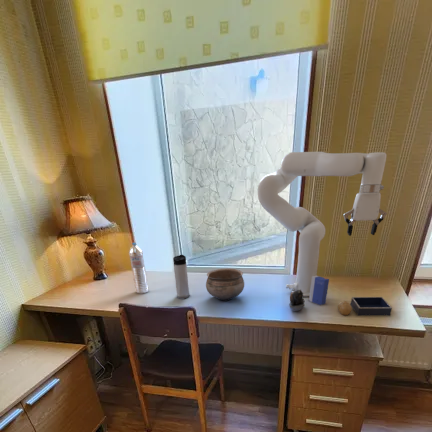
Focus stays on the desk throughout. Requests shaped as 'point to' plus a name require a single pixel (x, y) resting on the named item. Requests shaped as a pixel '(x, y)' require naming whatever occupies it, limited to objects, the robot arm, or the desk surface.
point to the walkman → (318, 290)
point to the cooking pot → (225, 283)
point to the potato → (344, 308)
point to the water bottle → (138, 269)
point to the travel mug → (181, 276)
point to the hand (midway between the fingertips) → (360, 234)
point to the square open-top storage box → (370, 306)
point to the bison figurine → (296, 300)
